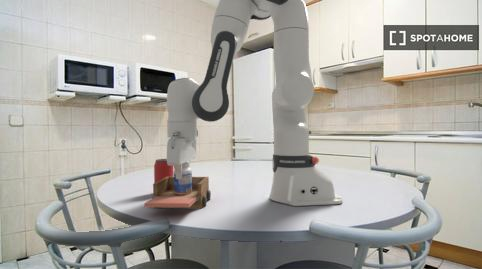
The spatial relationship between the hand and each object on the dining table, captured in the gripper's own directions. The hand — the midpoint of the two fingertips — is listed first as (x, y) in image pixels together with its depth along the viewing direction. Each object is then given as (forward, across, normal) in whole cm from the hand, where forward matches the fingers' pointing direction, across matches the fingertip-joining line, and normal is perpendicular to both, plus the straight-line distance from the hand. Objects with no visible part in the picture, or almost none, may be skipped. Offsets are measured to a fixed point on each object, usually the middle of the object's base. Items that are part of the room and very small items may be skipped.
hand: (182, 176), depth 85 cm
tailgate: (+5, -7, 0) cm, 9 cm away
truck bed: (+8, 0, 0) cm, 8 cm away
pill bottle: (+5, 0, 0) cm, 5 cm away
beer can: (+8, +12, +10) cm, 18 cm away
